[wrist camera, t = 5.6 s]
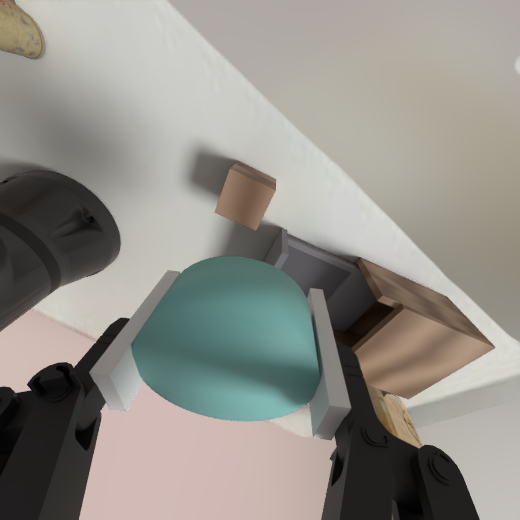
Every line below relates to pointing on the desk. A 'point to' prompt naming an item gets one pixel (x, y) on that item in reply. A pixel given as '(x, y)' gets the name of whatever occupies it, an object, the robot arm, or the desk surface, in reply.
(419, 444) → the tan piece
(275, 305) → the teal rounded puck
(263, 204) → the block
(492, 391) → the desk surface
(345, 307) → the tray
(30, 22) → the lighter
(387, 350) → the box
